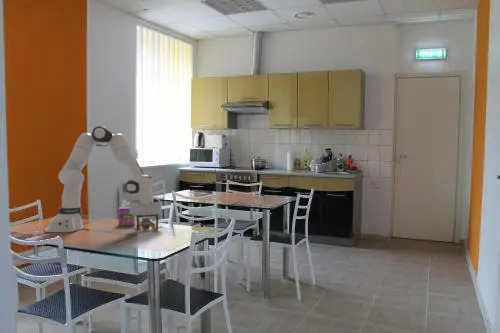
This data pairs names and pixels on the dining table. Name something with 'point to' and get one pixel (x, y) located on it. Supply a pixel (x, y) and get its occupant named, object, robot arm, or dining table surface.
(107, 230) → the dining table surface
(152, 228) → the wooden tray with handle
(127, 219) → the box
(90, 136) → the robot arm
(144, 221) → the gray domed cylinder
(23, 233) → the dining table surface
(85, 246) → the dining table surface
